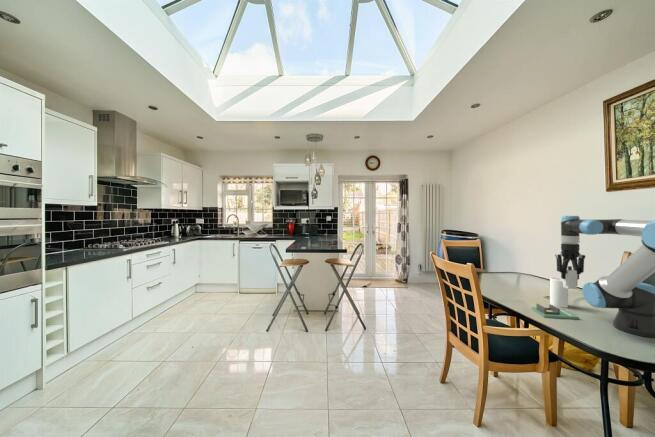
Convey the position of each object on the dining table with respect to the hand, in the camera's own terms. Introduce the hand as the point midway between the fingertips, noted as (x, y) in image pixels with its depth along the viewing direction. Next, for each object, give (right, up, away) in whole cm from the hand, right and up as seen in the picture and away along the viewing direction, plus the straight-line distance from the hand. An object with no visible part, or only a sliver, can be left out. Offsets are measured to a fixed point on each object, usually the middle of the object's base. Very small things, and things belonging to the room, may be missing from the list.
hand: (570, 284), depth 146 cm
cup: (+4, -16, +12) cm, 20 cm away
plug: (0, -2, 0) cm, 2 cm away
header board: (-10, -16, -1) cm, 19 cm away
